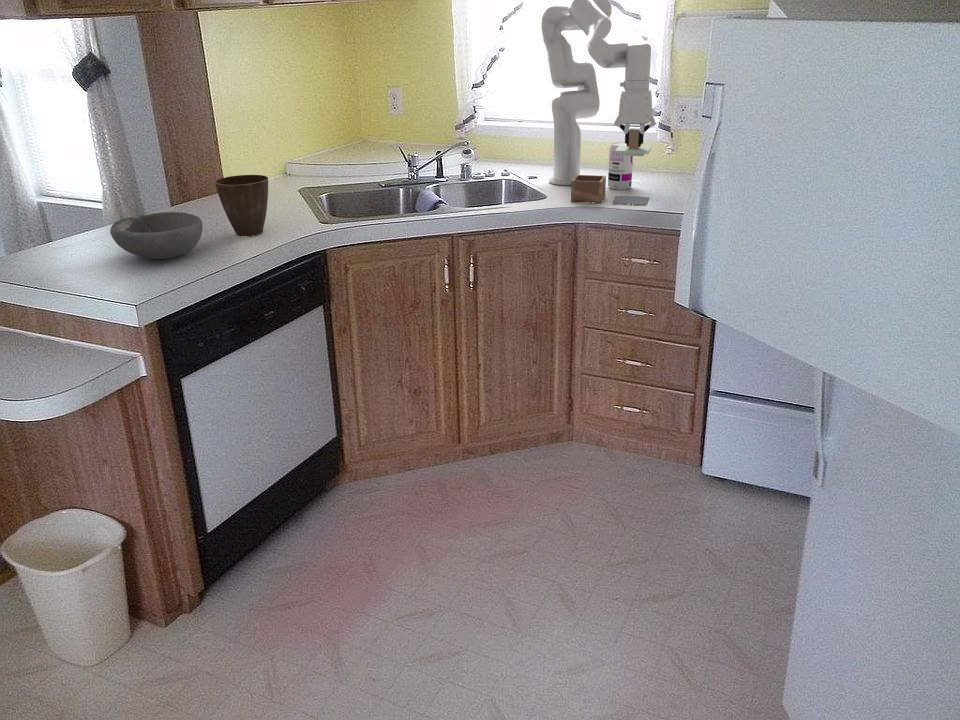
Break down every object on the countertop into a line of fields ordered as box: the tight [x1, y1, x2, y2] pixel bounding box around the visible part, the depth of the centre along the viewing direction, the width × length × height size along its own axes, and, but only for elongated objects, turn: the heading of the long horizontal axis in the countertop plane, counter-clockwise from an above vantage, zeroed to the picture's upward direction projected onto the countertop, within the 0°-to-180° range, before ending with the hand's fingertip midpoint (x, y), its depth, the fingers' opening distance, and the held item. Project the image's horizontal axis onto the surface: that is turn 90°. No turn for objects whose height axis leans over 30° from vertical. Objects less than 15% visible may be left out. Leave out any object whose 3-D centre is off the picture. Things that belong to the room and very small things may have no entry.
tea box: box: [570, 174, 607, 204], centre depth 270 cm, size 10×10×7 cm
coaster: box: [611, 195, 650, 206], centre depth 268 cm, size 11×11×1 cm
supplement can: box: [607, 142, 634, 191], centre depth 284 cm, size 8×8×15 cm
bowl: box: [109, 211, 203, 260], centre depth 219 cm, size 23×22×10 cm
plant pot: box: [214, 174, 269, 237], centre depth 237 cm, size 15×15×16 cm
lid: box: [615, 127, 652, 157], centre depth 260 cm, size 10×10×8 cm
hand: (633, 145), depth 261 cm, fingers closed on lid, 3 cm apart
